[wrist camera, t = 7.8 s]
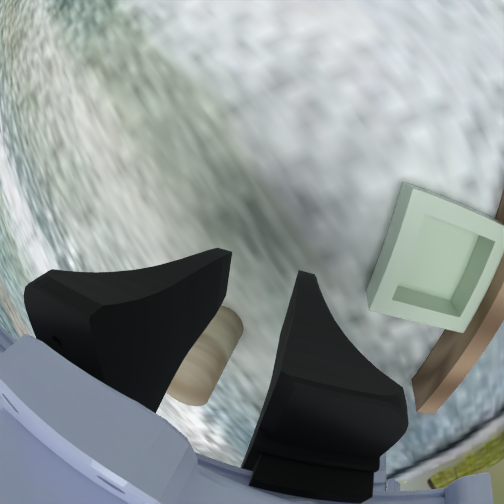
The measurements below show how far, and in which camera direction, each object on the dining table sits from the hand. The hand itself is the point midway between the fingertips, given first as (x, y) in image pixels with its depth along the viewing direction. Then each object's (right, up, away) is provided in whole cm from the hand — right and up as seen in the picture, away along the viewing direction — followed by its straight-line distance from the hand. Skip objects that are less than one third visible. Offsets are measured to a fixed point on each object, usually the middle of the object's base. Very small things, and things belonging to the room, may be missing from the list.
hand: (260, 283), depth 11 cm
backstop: (+17, -2, +6) cm, 19 cm away
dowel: (-3, -5, +14) cm, 15 cm away
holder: (+13, +1, +7) cm, 15 cm away
